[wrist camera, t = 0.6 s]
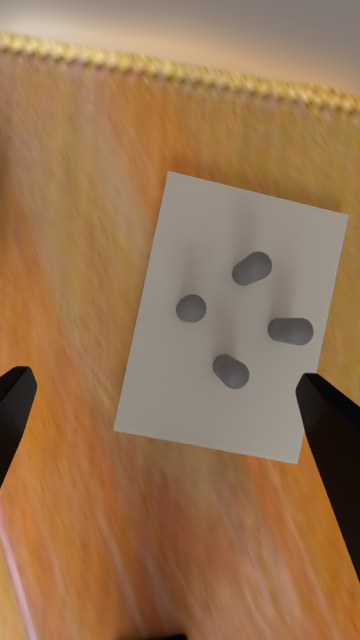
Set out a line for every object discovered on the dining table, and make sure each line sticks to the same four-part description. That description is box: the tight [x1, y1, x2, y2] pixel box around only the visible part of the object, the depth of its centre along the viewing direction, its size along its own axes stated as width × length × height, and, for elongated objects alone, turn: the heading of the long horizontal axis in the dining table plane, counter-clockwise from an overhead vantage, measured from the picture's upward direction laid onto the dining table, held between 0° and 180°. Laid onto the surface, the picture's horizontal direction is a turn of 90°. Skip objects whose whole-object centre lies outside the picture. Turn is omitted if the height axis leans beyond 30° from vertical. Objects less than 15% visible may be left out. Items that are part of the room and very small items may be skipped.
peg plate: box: [113, 171, 349, 464], centre depth 21 cm, size 22×16×5 cm
